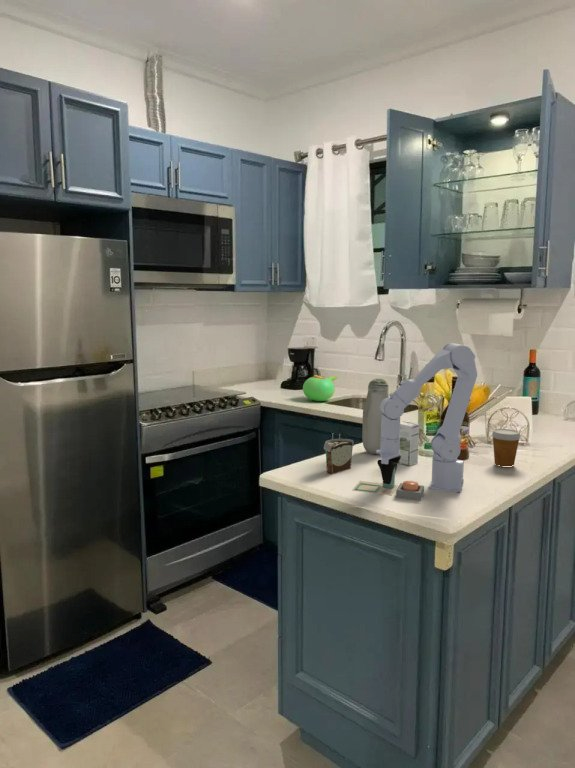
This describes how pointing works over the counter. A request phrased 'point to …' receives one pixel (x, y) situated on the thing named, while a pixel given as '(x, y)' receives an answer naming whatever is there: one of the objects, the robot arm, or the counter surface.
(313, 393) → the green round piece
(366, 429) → the grey bottle
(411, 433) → the syrup box
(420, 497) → the button housing
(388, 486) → the teal rounded cylinder
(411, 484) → the button
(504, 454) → the disposable coffee cup
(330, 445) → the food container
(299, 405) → the counter surface
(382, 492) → the card sheet
